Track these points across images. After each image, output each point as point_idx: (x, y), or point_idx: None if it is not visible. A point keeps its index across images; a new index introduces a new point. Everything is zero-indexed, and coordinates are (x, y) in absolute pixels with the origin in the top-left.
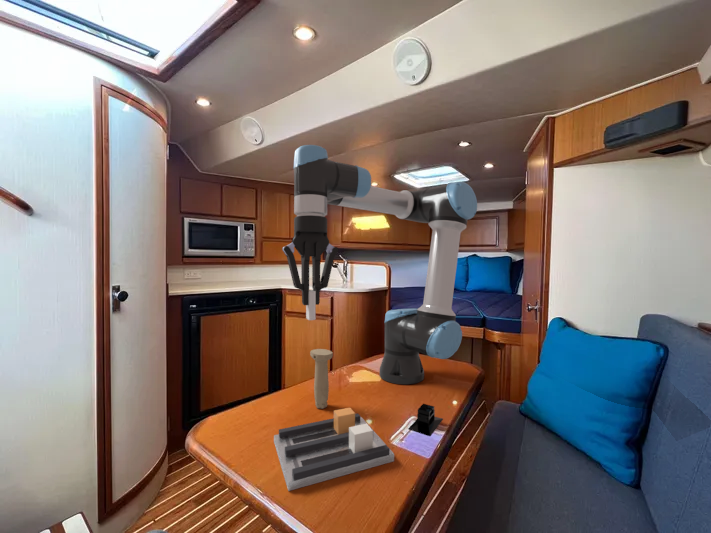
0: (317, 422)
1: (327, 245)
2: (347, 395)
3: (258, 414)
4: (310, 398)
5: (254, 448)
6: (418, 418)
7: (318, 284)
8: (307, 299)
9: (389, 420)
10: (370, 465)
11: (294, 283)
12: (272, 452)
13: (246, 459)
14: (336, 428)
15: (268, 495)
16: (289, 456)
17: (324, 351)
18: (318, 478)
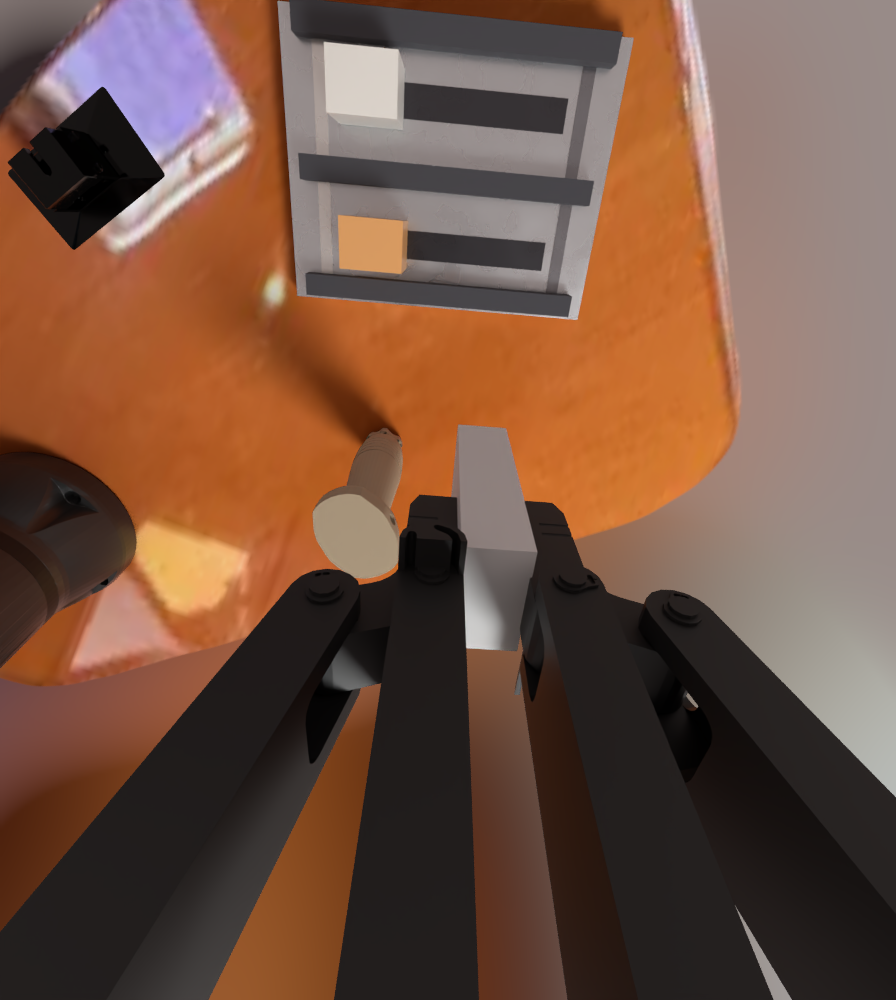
0: (449, 301)
1: None
2: (284, 474)
3: (560, 478)
4: (398, 503)
5: (627, 310)
6: (103, 172)
7: (417, 606)
8: (531, 527)
9: (207, 262)
10: None
11: (686, 709)
12: (594, 265)
13: (663, 266)
14: (406, 239)
15: (676, 58)
16: (580, 179)
17: (342, 538)
18: None
